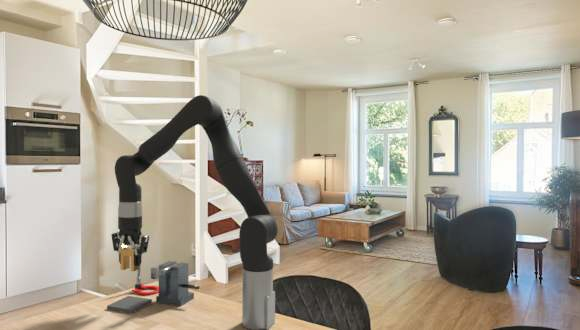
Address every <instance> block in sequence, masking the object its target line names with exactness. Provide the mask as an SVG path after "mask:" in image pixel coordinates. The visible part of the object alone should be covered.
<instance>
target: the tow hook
mask: <svg viewBox="0 0 580 330" xmlns="http://www.w3.org/2000/svg"><path fill="white" fill-rule="evenodd" d="M141 266H142V263H141V264H140V269H139V270H136V277H135V278H136V279H135V283H136V284H134V288H133V289H132V290H131V294H132V295H133V294H138V295H141V296H153V295H156V294H159V285H158V286H157V285H145V284H142V277H141V273H142V272H141V271H142V267H141ZM151 289H152V291H142V290H151Z"/></svg>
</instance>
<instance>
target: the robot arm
mask: <svg viewBox="0 0 580 330" xmlns="http://www.w3.org/2000/svg"><path fill="white" fill-rule="evenodd" d="M197 125H199V126H201V127H202V129H203V130H204V132H205V134H206V136H207V137H208V140H209V141H210V144H211V148H212V150H211V151H212V158H213V164H214V167H215V170H216V173H217V174H218V177H219V179H220V181H221V183H222V185H223V186H224V187H225V189H226V190H227V191H228V192H229V193H230V194H231V195H232V196H233V197H234V198H235V199H236V200H237V202H238V203H240V205H241V206H242V208H243V210H244V212H245V214H246V216H247V217H246V218H245V219H244V220H243V221H242V222H241V224H240V227H239V232H238V233H239V235H238V236H239V237H238V238H239V239H238V240H239V256H240V260H241V263H242V302H241V303H242V311H241V312H242V313H241V314H242V317H241V321H242V326H243V327H244V328H246V329H248V330H269V329H270V328H271V327H272V326H273V324H275V322H276V291H275V290H274V259H273V257H272V256H269V255H268V245H267V244H270V243H271V242H273V241H275V239H277V236H278V232H279V230H278V223H277V221H276V219H275V217H274V216H273V214H272V211H270V209H269V208H268V205H267V204H266V202H265V201H264V199H263V198H262V195H261V193H260V191H259V189H258V187H257V185H256V183H255V180H254V179H253V177H252V175H251V172H250V171H249V167H248V166H247V163H246V161H245V159H244V157H243V155H242V153H241V151H240V149H239V147H238V146H237V143H236V142H235V140H234V137H233V136H232V134H231V132H230V129H229V126H228V124H227V121H226V117H225V115H224V112H223V109H222V107H221V105H220V104H219V103H218V102H217V101H216V100H214V99H212V98H210V97H208V96H206V95H203V94H201V95H196V96H194V97H193V98H191V99H190V100H189V101H188V102H187V103H186V104H185V105H184V106H182V108H181V109H180V110H179V111H178V113H176V114H175V115H174V117H172V118H171V119H170V120H169V121H168V123H167V124H166V123H165V125H163V127H162V128H161V129H160V130H158V131H157V132H156V133H154V134H153V135H151V136H150V137H149V138H148V139H146V140H145V141H143V143H141V144H140V146H139V147H138V151H137V152H135V153H134V154H130V155H129V154H128V155H127V154H125V155H120V156H119V157H118V158H117V159H116V161H115V163H114V164H115V165H114V174H115V178H116V183H117V186H118V189H119V190H118V206H117V207H118V208H117V210H118V211H117V228H118V230H119V232H118V231H117V232H113V233H111V241H112V247H113V251H114V252H117V253H118V262H119V264H120V265H121V249H123V248H127V247H129V246H130V248H132V249H133V250H134V253H135V266H139V265H140V264H141V265H142V255H143V254H145V253H147V252H148V246H149V241H150V235H144V234H143V233H142V228H143V203H142V202H143V201H142V186H141V185H140V184H139V183H137V180H136V176H140V175H142V174H143V173H144V172H146V171H147V170H148V169H149V168H150V167H151V166H152V165H153V163H154V162H155V161H157V160H159V159H160V158H162V157H163V156H164V155H165V154H167V153H168V152H169V151H170V150H171V149H172V148H173V147H174V146H175V145H176V143H177V141H178V140H179V139H180V138H181V136H183V135H184V133H186V132H187V131H189V129H191V128H193V127H195V126H197ZM137 249H138V250H137Z"/></svg>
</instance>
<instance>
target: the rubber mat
mask: <svg viewBox="0 0 580 330" xmlns="http://www.w3.org/2000/svg"><path fill="white" fill-rule="evenodd" d="M152 303H153V299H152V298H147V297H146V298H145V297H139V296H133V295H127V296H125V297H123V298H121V299H119V300H116V301H114V302H112V303H109V304H108V305H106V310H109V311H114V312H121V313H126V314H134V313H136V312H137V311H139V310H141V309H143V308H145V307H147V306H149V305H151V304H152Z"/></svg>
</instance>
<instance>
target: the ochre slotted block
mask: <svg viewBox="0 0 580 330" xmlns="http://www.w3.org/2000/svg"><path fill="white" fill-rule="evenodd" d="M137 250H138V249H137ZM128 269H130V271H131V272H137V270H139V269H140V265H139V266H135V253H134V250H133V249H132V248H131V246H130V247H129V246H127V248H123V249H121V264H120V270H121V271H124V270H128Z"/></svg>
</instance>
